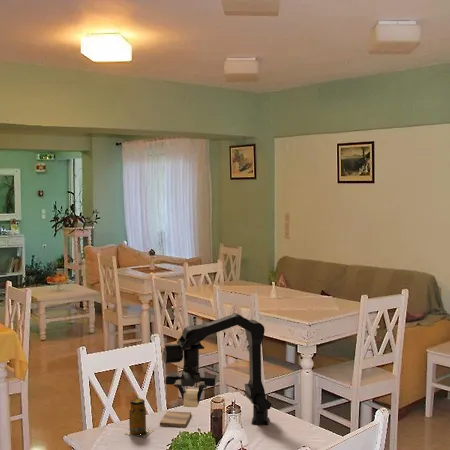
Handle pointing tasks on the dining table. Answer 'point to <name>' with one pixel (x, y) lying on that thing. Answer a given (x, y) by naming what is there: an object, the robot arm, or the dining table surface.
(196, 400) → the maple cube
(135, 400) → the condiment
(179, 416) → the serving board
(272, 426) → the dining table surface
